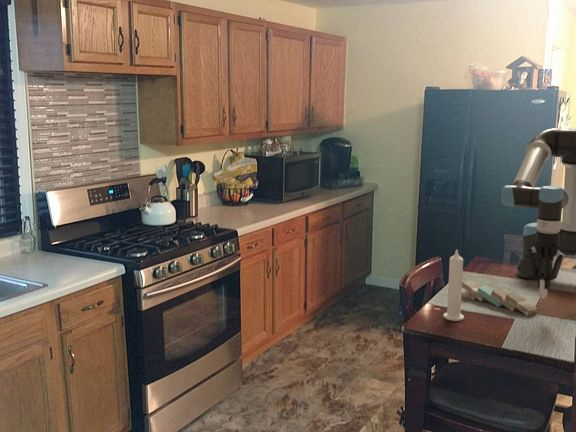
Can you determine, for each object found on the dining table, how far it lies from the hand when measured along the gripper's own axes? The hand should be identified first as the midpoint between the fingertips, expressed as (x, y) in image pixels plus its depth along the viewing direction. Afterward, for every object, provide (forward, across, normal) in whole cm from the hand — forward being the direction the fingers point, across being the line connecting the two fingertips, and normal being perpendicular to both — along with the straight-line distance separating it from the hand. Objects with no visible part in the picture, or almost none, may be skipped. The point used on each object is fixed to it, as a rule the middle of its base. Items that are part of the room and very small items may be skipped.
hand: (542, 296), depth 206 cm
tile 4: (+6, -23, 0) cm, 23 cm away
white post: (+8, -19, -24) cm, 32 cm away
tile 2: (+7, -10, 0) cm, 12 cm away
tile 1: (+7, -4, 0) cm, 8 cm away
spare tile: (+7, -15, 0) cm, 17 cm away
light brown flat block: (+7, -26, 0) cm, 27 cm away
